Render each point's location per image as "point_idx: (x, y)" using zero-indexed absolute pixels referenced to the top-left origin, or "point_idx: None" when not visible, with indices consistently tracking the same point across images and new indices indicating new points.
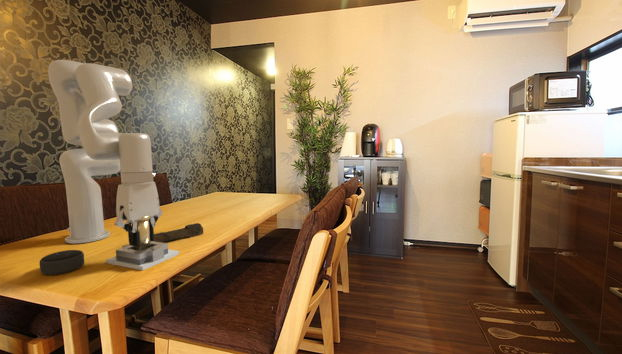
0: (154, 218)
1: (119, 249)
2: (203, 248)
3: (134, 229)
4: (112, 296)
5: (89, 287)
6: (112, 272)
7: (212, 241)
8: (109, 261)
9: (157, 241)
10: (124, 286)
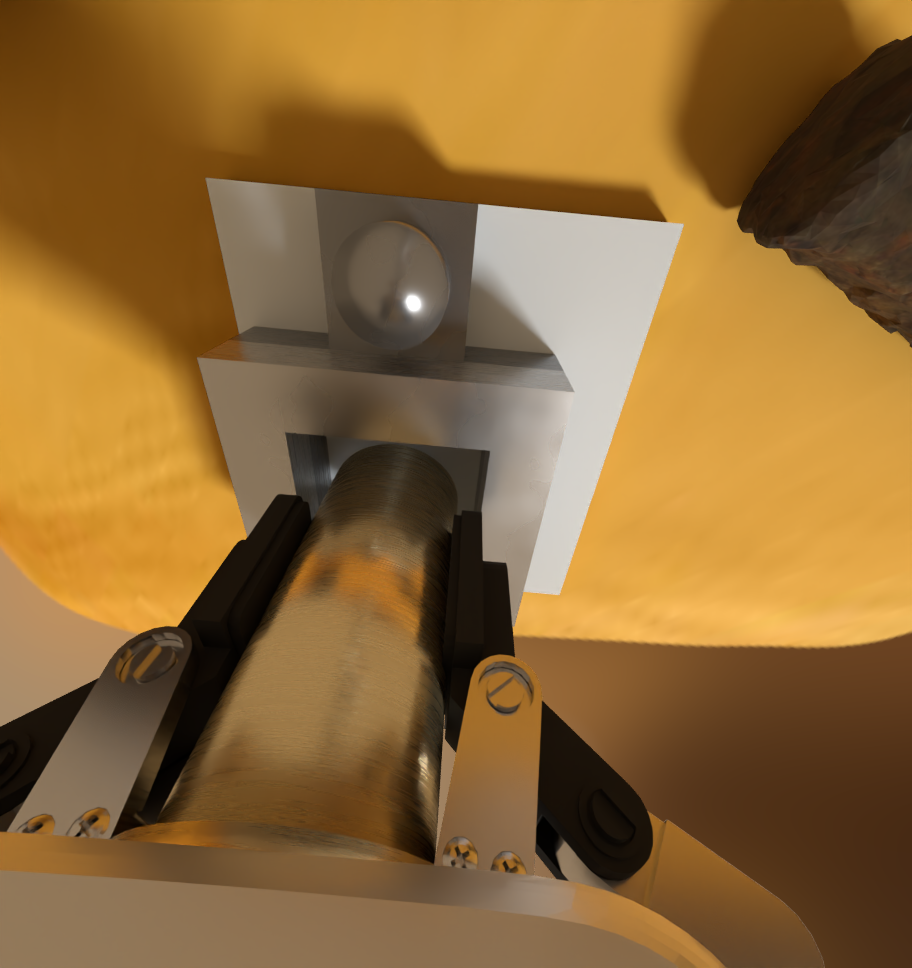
0: (544, 857)
1: (230, 382)
2: (668, 631)
3: (190, 745)
4: (96, 611)
5: (26, 473)
6: (181, 423)
7: (815, 618)
8: (224, 241)
9: (827, 274)
10: (159, 594)
